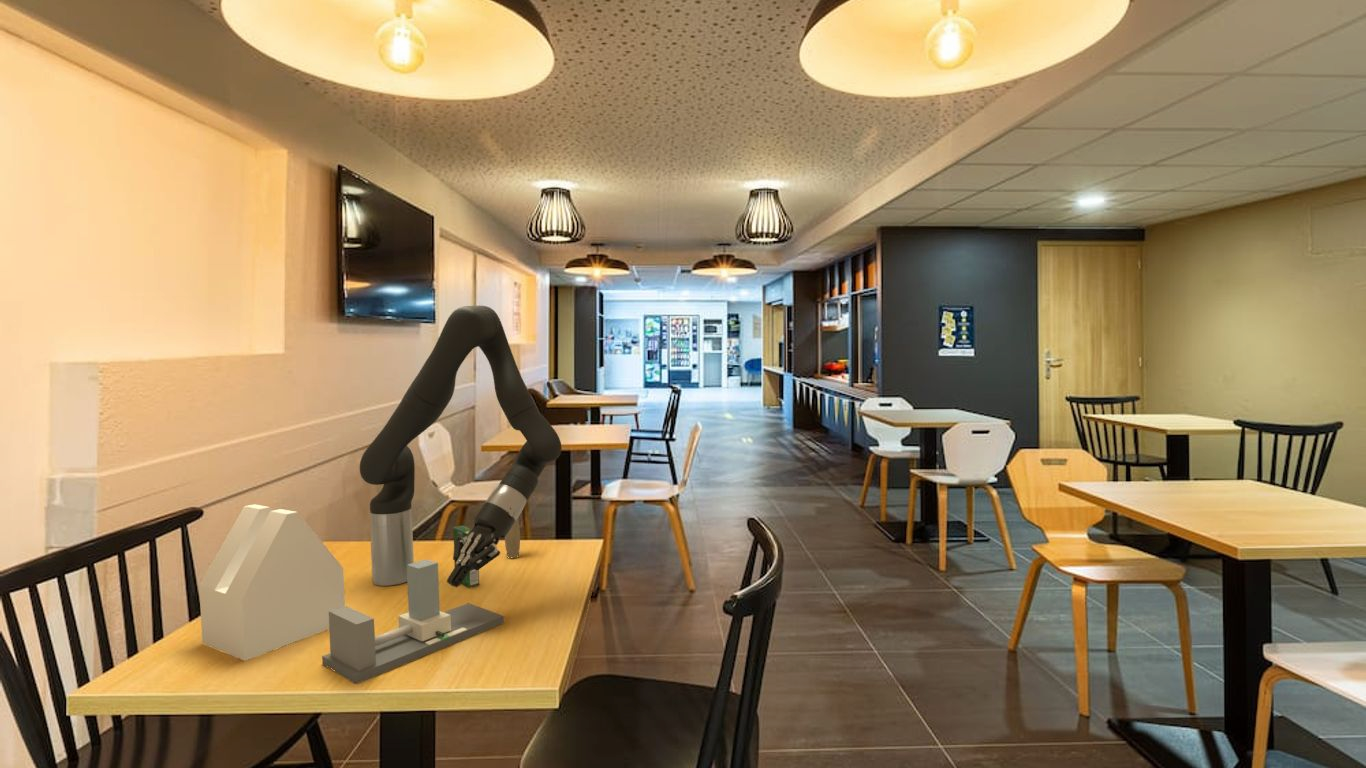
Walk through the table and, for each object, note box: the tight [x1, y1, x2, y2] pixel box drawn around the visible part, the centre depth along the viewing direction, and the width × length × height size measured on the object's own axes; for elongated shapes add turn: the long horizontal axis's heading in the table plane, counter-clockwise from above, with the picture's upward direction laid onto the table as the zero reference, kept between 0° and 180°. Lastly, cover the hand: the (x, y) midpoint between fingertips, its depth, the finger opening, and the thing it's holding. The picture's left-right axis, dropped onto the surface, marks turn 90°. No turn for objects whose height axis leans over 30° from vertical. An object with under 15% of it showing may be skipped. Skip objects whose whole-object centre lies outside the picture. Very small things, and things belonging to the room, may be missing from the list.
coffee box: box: [452, 525, 480, 588], centre depth 157 cm, size 8×3×13 cm, turn 44°
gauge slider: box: [375, 559, 451, 646], centre depth 122 cm, size 10×14×13 cm
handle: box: [504, 517, 521, 559], centre depth 177 cm, size 5×6×15 cm
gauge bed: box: [321, 602, 505, 685], centre depth 125 cm, size 12×30×10 cm, turn 143°
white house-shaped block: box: [198, 503, 346, 662], centre depth 130 cm, size 19×15×25 cm
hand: (451, 584), depth 130 cm, fingers closed
